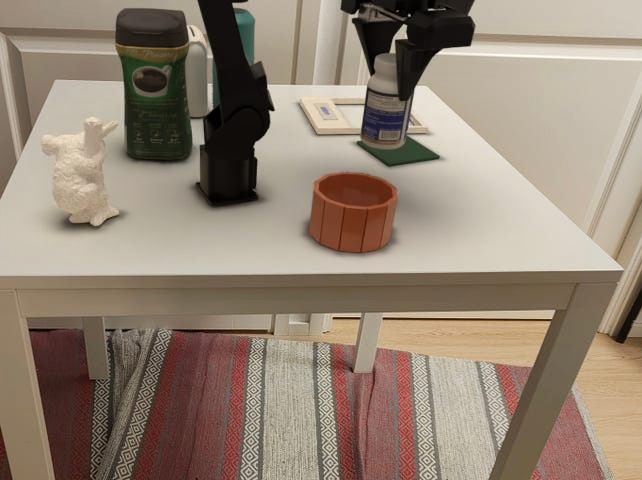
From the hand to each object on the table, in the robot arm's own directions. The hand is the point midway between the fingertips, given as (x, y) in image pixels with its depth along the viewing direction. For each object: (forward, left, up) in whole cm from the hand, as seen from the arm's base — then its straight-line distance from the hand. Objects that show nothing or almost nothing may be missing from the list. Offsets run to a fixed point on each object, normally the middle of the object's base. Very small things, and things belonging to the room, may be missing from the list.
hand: (390, 92), depth 79 cm
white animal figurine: (-36, +6, -13) cm, 39 cm away
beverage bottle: (-8, +29, -13) cm, 33 cm away
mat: (+12, +12, -13) cm, 21 cm away
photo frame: (+14, +26, -13) cm, 32 cm away
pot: (-8, -8, -13) cm, 17 cm away
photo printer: (-11, +39, -13) cm, 42 cm away
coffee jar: (-22, +23, -13) cm, 34 cm away
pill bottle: (0, 0, -6) cm, 6 cm away
